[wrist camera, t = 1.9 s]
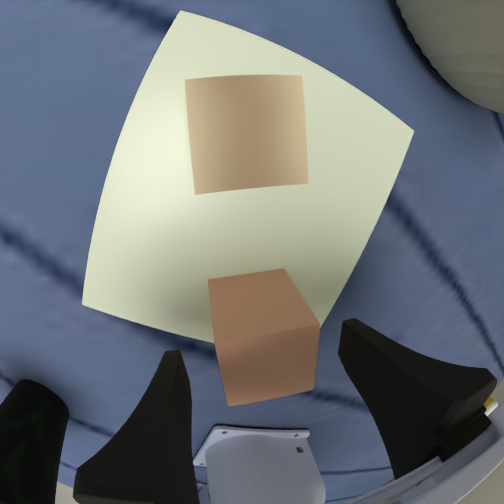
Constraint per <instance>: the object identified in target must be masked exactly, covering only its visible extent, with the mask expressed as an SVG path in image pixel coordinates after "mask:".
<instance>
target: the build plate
mask: <svg viewBox="0 0 504 504" xmlns="http://www.w3.org/2000/svg"><path fill="white" fill-rule="evenodd" d="M234 75H299V76H302V81H303V93H304V106H305V121H306V139H307V161H308V184H297V185H284V186H272V187H261V188H250V189H241V190H231V191H223V192H214V193H206V194H198V195H195V189H194V180H193V171H192V162H191V152H190V141H189V130H188V118H187V105H186V91H185V80H187V79H196V78H206V77H218V76H234ZM413 133H414V131H413V130H412V129H411V128H410V127H409V126H407V125H406V124H405V123H404V122H402V121H401V120H400V119H399V118H397V117H396V116H395V115H393V114H392V113H391V112H389V111H388V110H387V109H385V108H384V107H383V106H381V105H380V104H379V103H377V102H376V101H374V100H373V99H372V98H370V97H369V96H367V95H366V94H364V93H363V92H361V91H360V90H358V89H357V88H355V87H354V86H352V85H351V84H349V83H347V82H346V81H344V80H343V79H341V78H339V77H338V76H336V75H334V74H333V73H331V72H329V71H327V70H326V69H324V68H322V67H320V66H319V65H317V64H315V63H313V62H311V61H309V60H308V59H306V58H304V57H302V56H300V55H298V54H296V53H294V52H292V51H290V50H288V49H286V48H284V47H281V46H279V45H277V44H275V43H273V42H270V41H268V40H266V39H263V38H261V37H259V36H256V35H254V34H251V33H249V32H246V31H244V30H241V29H238V28H236V27H233V26H230V25H227V24H224V23H221V22H218V21H215V20H212V19H209V18H206V17H202V16H199V15H195V14H192V13H188V12H184V11H180V12H179V14H178V15H177V17H176V19H175V20H174V22H173V24H172V25H171V27H170V29H169V30H168V32H167V34H166V36H165V37H164V39H163V41H162V43H161V45H160V47H159V48H158V50H157V52H156V54H155V56H154V58H153V60H152V62H151V64H150V66H149V68H148V70H147V72H146V74H145V76H144V79H143V81H142V83H141V85H140V87H139V90H138V92H137V94H136V96H135V99H134V101H133V103H132V106H131V108H130V111H129V113H128V116H127V118H126V121H125V124H124V126H123V129H122V132H121V134H120V137H119V140H118V143H117V146H116V149H115V152H114V155H113V158H112V161H111V164H110V168H109V171H108V174H107V178H106V181H105V185H104V188H103V192H102V196H101V200H100V204H99V208H98V212H97V216H96V221H95V225H94V230H93V235H92V240H91V245H90V250H89V256H88V262H87V269H86V275H85V283H84V291H83V299H82V305H85V306H88V307H91V308H93V309H96V310H99V311H102V312H105V313H108V314H111V315H114V316H117V317H120V318H123V319H126V320H130V321H133V322H136V323H139V324H143V325H146V326H150V327H153V328H157V329H160V330H164V331H167V332H171V333H175V334H179V335H183V336H186V337H190V338H194V339H199V340H203V341H207V342H211V343H214V335H213V327H212V318H211V309H210V299H209V289H208V279H214V278H222V277H229V276H236V275H243V274H250V273H256V272H263V271H270V270H277V269H283V268H284V269H285V271H286V272H287V274H288V275H289V277H290V278H291V280H292V281H293V283H294V284H295V286H296V287H297V289H298V290H299V292H300V293H301V295H302V296H303V298H304V299H305V301H306V302H307V304H308V305H309V307H310V308H311V310H312V312H313V313H314V315H315V316H316V318H317V319H318V321H319V322H320V328H321V326H322V324H323V323H324V321H325V319H326V318H327V316H328V314H329V312H330V311H331V309H332V307H333V306H334V304H335V302H336V300H337V298H338V297H339V295H340V293H341V291H342V290H343V288H344V286H345V284H346V282H347V280H348V278H349V277H350V275H351V273H352V271H353V269H354V267H355V265H356V263H357V261H358V259H359V258H360V256H361V254H362V252H363V250H364V248H365V246H366V244H367V242H368V240H369V237H370V235H371V233H372V231H373V229H374V227H375V225H376V223H377V221H378V218H379V216H380V214H381V212H382V210H383V207H384V205H385V203H386V201H387V198H388V196H389V194H390V192H391V189H392V187H393V184H394V182H395V180H396V177H397V175H398V172H399V170H400V167H401V165H402V162H403V160H404V157H405V155H406V152H407V149H408V147H409V144H410V141H411V138H412V136H413Z"/></svg>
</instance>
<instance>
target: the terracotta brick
mask: <svg viewBox="0 0 504 504" xmlns="http://www.w3.org/2000/svg"><path fill="white" fill-rule="evenodd" d="M208 289H209V299H210V309H211V318H212V327H213V335H214V343H215V348H216V353H217V358H218V363H219V368H220V373H221V377H222V382H223V386H224V391H225V395H226V400H227V404H228V407H230V406H236V405H243V404H249V403H254V402H260V401H265V400H270V399H275V398H280V397H284V396H289V395H293V394H297V393H301V392H305V391H309V390H313V389H314V381H315V373H316V364H317V354H318V344H319V333H320V322H319V321H318V319H317V318H316V316H315V315H314V313H313V312H312V310H311V308H310V307H309V305H308V304H307V302H306V301H305V299H304V298H303V296H302V295H301V293H300V292H299V290H298V289H297V287H296V286H295V284H294V283H293V281H292V280H291V278H290V277H289V275H288V274H287V272H286V271H285V269H284V268H283V269H277V270H270V271H263V272H256V273H250V274H243V275H236V276H229V277H222V278H214V279H208Z"/></svg>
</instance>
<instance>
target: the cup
mask: <svg viewBox="0 0 504 504" xmlns="http://www.w3.org/2000/svg"><path fill="white" fill-rule="evenodd" d="M68 418H69V414H68V411H67V409H66V407H65V405H64V404H63V402H62V401H61V400H60V399H59V398H58V397H57V396H56V395H55V394H54V393H53V392H51V391H50V390H49V389H47V388H46V387H44V386H43V385H41V384H39V383H37V382H34V381H31V380H20V381H19V382H18V383H17V384H16V385H15V386H14V388H13V389H12V390H11V392H10V393H9V394H8V396H7V397H6V398H5V399H4V401H3V402H2V403H1V405H0V504H55V495H56V486H57V478H58V470H59V464H60V457H61V452H62V446H63V441H64V436H65V431H66V426H67V422H68Z"/></svg>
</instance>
